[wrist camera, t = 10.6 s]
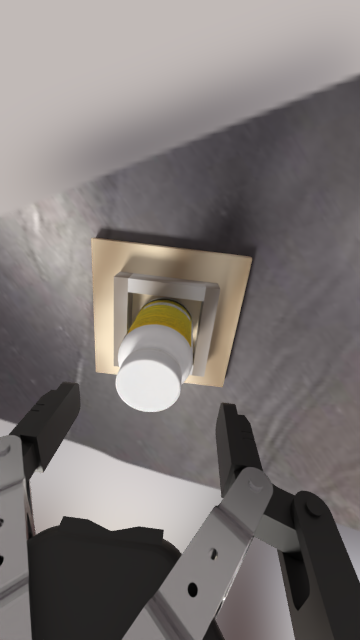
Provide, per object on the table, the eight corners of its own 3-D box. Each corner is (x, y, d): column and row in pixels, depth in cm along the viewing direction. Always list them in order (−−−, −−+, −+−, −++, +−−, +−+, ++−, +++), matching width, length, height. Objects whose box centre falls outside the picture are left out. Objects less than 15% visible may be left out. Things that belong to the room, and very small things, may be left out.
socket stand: (249, 256, 21) (258, 262, 19) (221, 381, 27) (224, 399, 24) (95, 237, 21) (81, 240, 19) (99, 366, 27) (88, 383, 24)
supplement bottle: (133, 298, 22) (94, 350, 13) (190, 293, 22) (190, 343, 13) (142, 348, 24) (113, 423, 15) (194, 345, 24) (197, 419, 15)
